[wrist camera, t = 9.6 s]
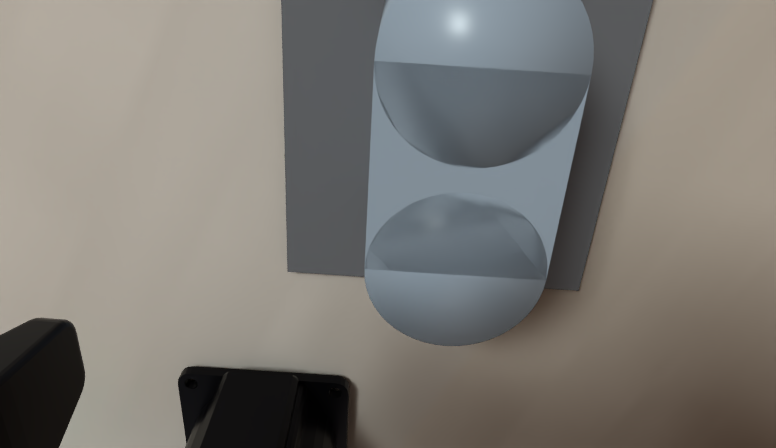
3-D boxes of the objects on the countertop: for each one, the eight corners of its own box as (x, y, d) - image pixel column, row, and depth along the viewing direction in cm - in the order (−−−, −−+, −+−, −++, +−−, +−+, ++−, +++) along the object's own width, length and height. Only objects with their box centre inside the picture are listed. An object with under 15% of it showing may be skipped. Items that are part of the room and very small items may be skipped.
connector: (503, 251, 20) (530, 350, 16) (371, 242, 20) (361, 340, 16) (574, -157, 14) (647, -180, 10) (392, -169, 14) (386, -197, 10)
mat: (575, 283, 21) (578, 290, 21) (289, 265, 21) (287, 271, 21) (674, -108, 15) (680, -108, 15) (281, -135, 15) (278, -136, 15)
